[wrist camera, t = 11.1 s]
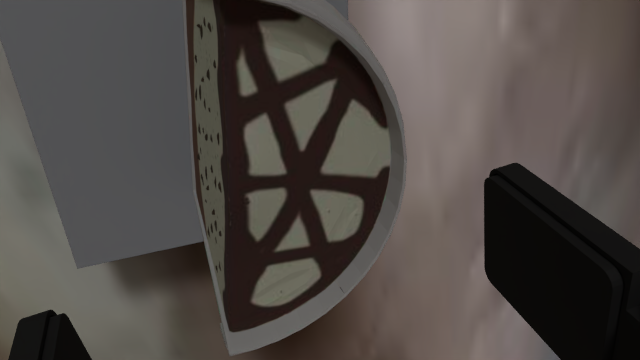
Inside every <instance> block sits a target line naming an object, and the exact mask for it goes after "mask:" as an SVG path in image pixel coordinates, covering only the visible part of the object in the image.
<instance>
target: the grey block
mask: <svg viewBox="0 0 640 360" xmlns="http://www.w3.org/2000/svg"><path fill="white" fill-rule="evenodd" d="M325 1H327V2H328V3H330V4H331V5H332V6H334V7H335V8H336V9H337V10H338V11H339V12H340V13H341V14H342V15H343V16H344V17H345V18H346V19H347V20H348V0H325ZM0 39H1V42H2V45H3V48H4V51H5V54H6V57H7V60H8V63H9V66H10V69H11V72H12V75H13V78H14V81H15V84H16V86H17V89H18V92H19V95H20V98H21V101H22V104H23V107H24V110H25V113H26V116H27V119H28V122H29V125H30V128H31V131H32V134H33V137H34V140H35V143H36V146H37V149H38V152H39V155H40V158H41V161H42V164H43V167H44V170H45V173H46V176H47V179H48V182H49V185H50V188H51V191H52V194H53V197H54V200H55V203H56V206H57V209H58V212H59V215H60V218H61V221H62V224H63V227H64V230H65V233H66V236H67V239H68V242H69V245H70V248H71V251H72V254H73V257H74V260H75V263H76V266H77V269H78V268H83V267H87V266H92V265H97V264H101V263H106V262H110V261H115V260H120V259H124V258H129V257H133V256H138V255H143V254H147V253H152V252H156V251H161V250H166V249H170V248H175V247H179V246H184V245H189V244H193V243H198V242H202V241H204V240H203V236H202V231H201V227H200V222H199V218H198V213H197V209H196V204H195V200H194V195H193V188H192V170H191V152H190V135H189V117H188V99H187V81H186V64H185V46H184V28H183V10H182V0H0Z"/></svg>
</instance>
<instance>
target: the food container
mask: <svg viewBox="0 0 640 360" xmlns="http://www.w3.org/2000/svg"><path fill="white" fill-rule="evenodd" d="M182 10H183V28H184V46H185V64H186V81H187V99H188V117H189V135H190V152H191V170H192V188H193V195H194V200H195V204H196V209H197V213H198V218H199V222H200V227H201V231H202V236H203V240H204V245H205V249H206V254H207V258H208V263H209V267H210V272H211V276H212V281H213V285H214V290H215V294H216V299H217V303H218V308H219V312H220V317H221V321H222V323H220V329H221V332H222V336H223V339H224V342H225V345H226V348H228V352H229V356H232V355H236V354H240V353H244V352H248V351H252V350H256V349H258V348H261V347H263V346H266V345H269V344H271V343H274V342H277V341H279V340H281V339H283V338H285V337H287V336H289V335H291V334H293V333H295V332H297V331H299V330H301V329H303V328H305V327H306V326H308V325H309V324H311V323H312V322H314V321H315V320H317V319H318V318H320V317H321V316H323V315H324V314H326V313H327V312H328V311H329V310H330V309H332V308H333V307H334V306H335V305H336V304H338V303H339V302H340V301H341V300H342V299H343V298H345V297H346V296H347V295H348V294H349V293H350V292H351V290H352V289H353V288H354V287H355V286H356V285H357V284H358V283H359V282H360V281H361V280H362V279H363V277H364V276H365V275H366V273H367V272H368V271H369V269H370V268H371V266H372V265H373V264H374V262H375V261H376V259H377V258H378V257H379V255H380V253H381V251H382V249H383V248H384V246H385V244H386V242H387V240H388V238H389V236H390V234H391V232H392V230H393V227H394V224H395V222H396V219H397V216H398V213H399V211H400V207H401V202H402V198H403V193H404V188H405V181H406V163H407V156H406V146H405V136H404V126H403V120H402V116H401V112H400V109H399V105H398V101H397V98H396V95H395V93H394V90H393V88H392V86H391V84H390V82H389V80H388V78H387V75H386V73H385V71H384V69H383V68H382V66H381V65H380V63H379V62H378V60H377V59H376V57H375V55H374V54H373V52H372V51H371V50H370V48H369V47H368V45H367V44H366V43H365V41H364V40H363V38H362V37H361V36H360V34H359V33H358V31H357V30H356V28H355V27H354V26H353V25H352V24H351V23H350V22H349V21H348V20H347V19H346V18H345V17H344V16H343V15H342V14H341V13H340V12H339V11H338V10H337V9H336V8H335V7H334V6H332V5H331V4H330V3H328V2H327V1H325V0H182Z"/></svg>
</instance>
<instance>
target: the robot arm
mask: <svg viewBox="0 0 640 360" xmlns="http://www.w3.org/2000/svg"><path fill="white" fill-rule="evenodd" d="M484 246H485V272H486V275H487V277H488V279H489V281H490V282H491V283H492V284H493V286H494V287H495V288H496V289H497V290H498V291H499V292H500V293H501V294H502V295H503V297H504V298H505V299H506V300H507V301H508V302H509V303H510V304H511V305H512V306H513V308H514V309H515V310H516V311H517V312H518V313H519V314H520V315H521V316H522V317H523V319H524V320H525V321H526V322H527V323H528V324H529V325H530V326H531V327H532V328H533V329H534V331H535V332H536V333H537V334H538V335H539V336H540V337H541V338H542V339H543V340H544V342H545V343H546V344H547V345H548V346H549V347H550V348H551V349H552V350H553V351H554V353H555V354H556V355H557V356H558V357H559V358H560V359H561V360H640V249H639V248H637V247H636V246H635V245H633V244H632V243H630V242H629V241H628V240H626V239H625V238H623V237H622V236H620V235H619V234H618V233H616V232H615V231H613V230H612V229H611V228H609V227H608V226H606V225H605V224H604V223H602V222H601V221H599V220H598V219H596V218H595V217H594V216H592V215H591V214H589V213H588V212H587V211H585V210H584V209H582V208H581V207H580V206H578V205H577V204H575V203H574V202H573V201H571V200H570V199H568V198H567V197H565V196H564V195H563V194H561V193H560V192H558V191H557V190H556V189H554V188H553V187H551V186H550V185H549V184H547V183H546V182H544V181H543V180H541V179H540V178H539V177H537V176H536V175H534V174H533V173H532V172H530V171H529V170H527V169H526V168H525V167H523V166H522V165H520V164H518V163H512V164H509V165H506V166H503V167H499V168H496V169H493V170H492V171H491V172H490V175H489V178H487V179H485V182H484ZM8 360H92V359H91V357H90V355H89V354H88V352H87V350H86V348H85V347H84V345H83V343H82V341H81V339H80V338H79V336H78V334H77V332H76V330H75V329H74V327H73V325H72V323H71V322H70V320H69V318H68V317H67V315H66V314H64V313H62V314H59V315H57V314H56V313H55V312H54V311H53V310H48V311H45V312H42V313H38V314H35V315H32V316H29V317H26V318H23V319H21V320H20V321H19V323H18V326H17V329H16V333H15V337H14V341H13V344H12V348H11V352H10V356H9V359H8Z"/></svg>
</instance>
